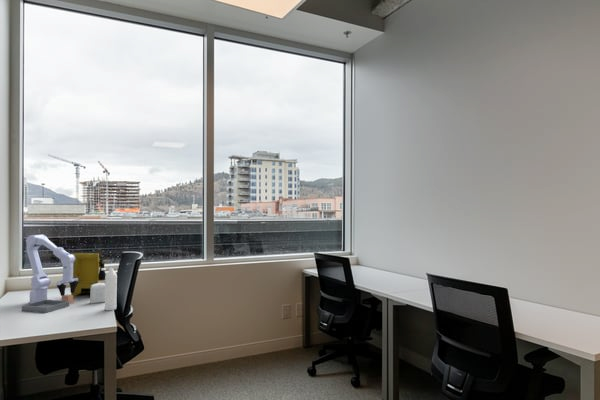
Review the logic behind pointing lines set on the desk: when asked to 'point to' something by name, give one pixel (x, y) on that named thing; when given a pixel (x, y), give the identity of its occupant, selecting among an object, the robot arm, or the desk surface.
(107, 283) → the white spray bottle
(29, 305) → the bin
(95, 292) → the photo printer
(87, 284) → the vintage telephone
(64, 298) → the terracotta block
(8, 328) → the desk surface
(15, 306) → the desk surface
